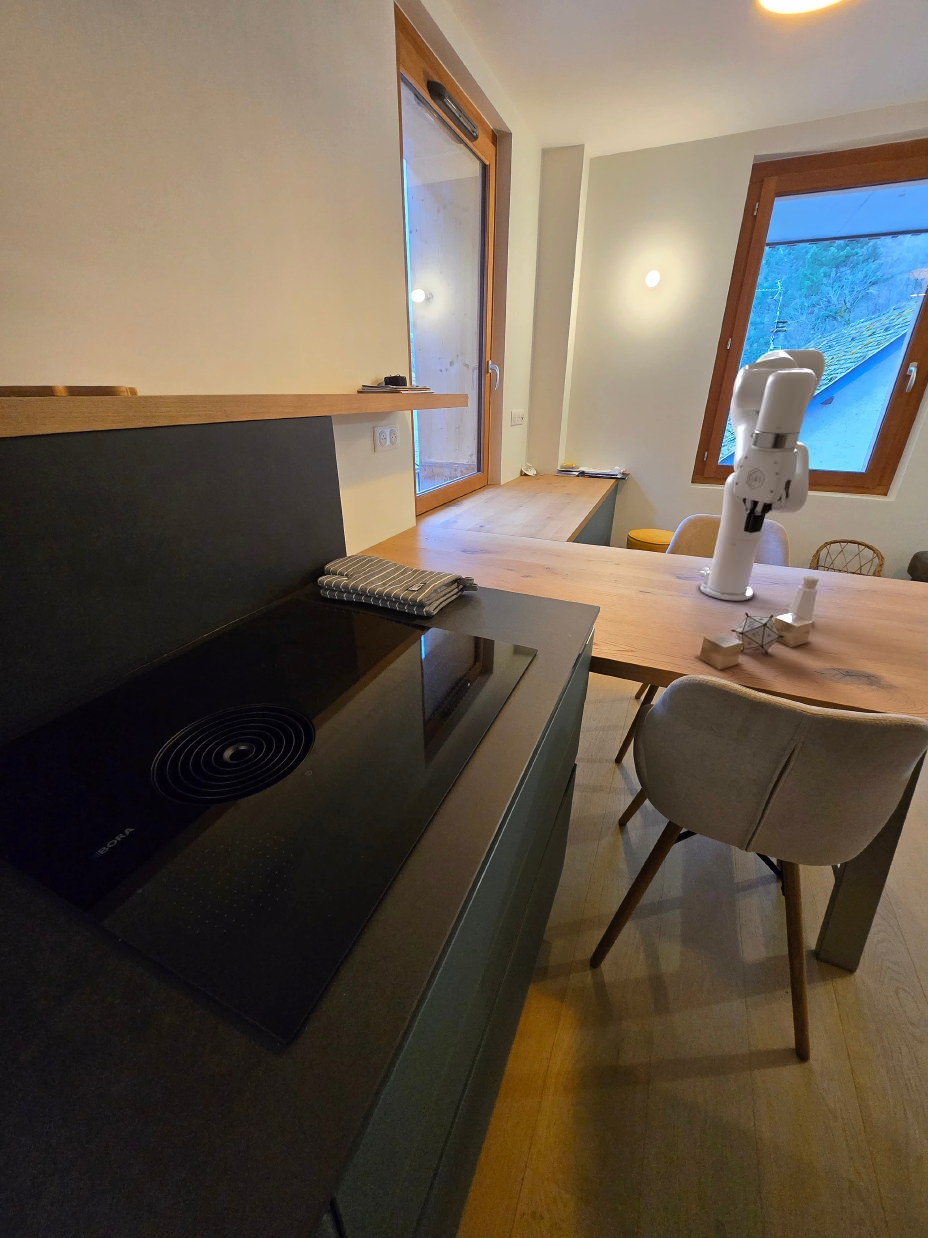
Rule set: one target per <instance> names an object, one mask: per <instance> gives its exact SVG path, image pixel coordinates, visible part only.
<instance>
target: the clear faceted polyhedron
mask: <svg viewBox="0 0 928 1238" xmlns="http://www.w3.org/2000/svg"><path fill="white" fill-rule="evenodd" d="M744 615H745V616H746V617H745V618H744V619H743V620H742V621H741V622H740V624H739V625H738V626H737V628H736V629H731V630H730V632H732V633H735V635H736V638H737V640H739V641H741V642H743V644H742V648H741V652H740V653H743V652H744V651H754V652H755V651H756V652H765V655H767V656H769V654H770V652H769V649H770V648H771V647H772V646H773V645H774V644H775V643H776V642H778V641H777V639H778V638H779V637H780V638H784V636H782V635H781V636H780V635H779V633H778V631H777V629H776V627H775V625H774V620H773V618H774V616H775V615H774V614H771V615H770V616H769V617H768V616H758V615H757V616H756V615H755V616H754V615H749V613H748V612H745V614H744Z"/></svg>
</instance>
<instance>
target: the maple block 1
mask: <svg viewBox="0 0 928 1238" xmlns="http://www.w3.org/2000/svg"><path fill="white" fill-rule="evenodd" d="M701 643H702V644H701V647H700V651H699V657H698V658H699V659H700V660H702V661H703V662H705V663H706V664H709V665H711V667H714V668H715V669H717V670H719V671H720V670H723V669H726V668H729V667H733V666H735V665H738V663H739V659H740V655H741V653H742V652H741V649H743V648H742V644H743V642H741V641H739V639H738V638H735V637H733V636H731V635H729V634H727V633H724V632H723V631H720V632H717V633H713V634H709V635H705V636H703V639H702V642H701Z"/></svg>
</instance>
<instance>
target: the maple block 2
mask: <svg viewBox="0 0 928 1238" xmlns="http://www.w3.org/2000/svg"><path fill="white" fill-rule="evenodd" d="M773 623H774V625H775V627H776V629H777V631H778V633H779V635H780V636H781V635H782V636H784V638H780V637H779V638H778V639H777V641H776V642H778V643H781V644H783V645H785V646H787V647H788V648H793V647H796V646H799V645H803V644H806V643H807V641H808V639H809V637H810V633H811V629H812V626H813V625H814V622H813V621H812V620H811V621H810V620H807V619H805V618H802V617H800V616H797V615H795V614H792V613H789V614H787V613H785V614H782V615H778V616H775V618H774V620H773Z"/></svg>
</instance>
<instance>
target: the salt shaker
mask: <svg viewBox="0 0 928 1238" xmlns="http://www.w3.org/2000/svg"><path fill="white" fill-rule="evenodd" d="M819 581H820V580H819V578H818V577H816V576H810V575H806V576H804V577H803V580H802V584H801V585H799V586H798V588H797V590H796V592H795V595H794V598H793V599H792V601H791V604H790V607H789V609H788V611H787V613H786V614H789V613H792V614H795V615H797V616H800V617H802V618H805V619H807V620H810V621H812V620H813V619H812V618H813V613H814V610H815V609H814V608H815V603H816V599H817V593H818V588H817V585H818V582H819Z"/></svg>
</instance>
